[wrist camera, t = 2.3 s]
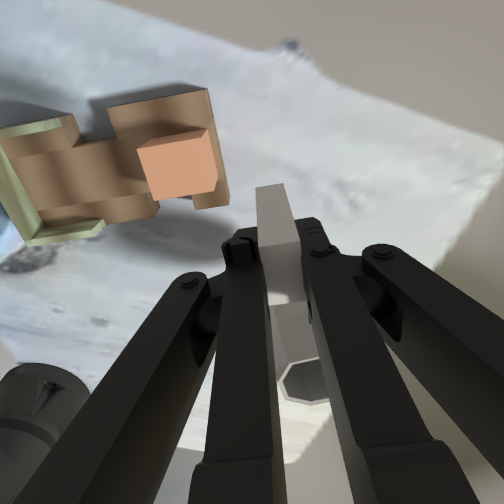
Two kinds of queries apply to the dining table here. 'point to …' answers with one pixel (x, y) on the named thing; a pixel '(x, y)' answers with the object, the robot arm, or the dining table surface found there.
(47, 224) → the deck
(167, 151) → the block
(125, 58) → the dining table surface
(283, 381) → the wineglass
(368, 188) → the dining table surface
